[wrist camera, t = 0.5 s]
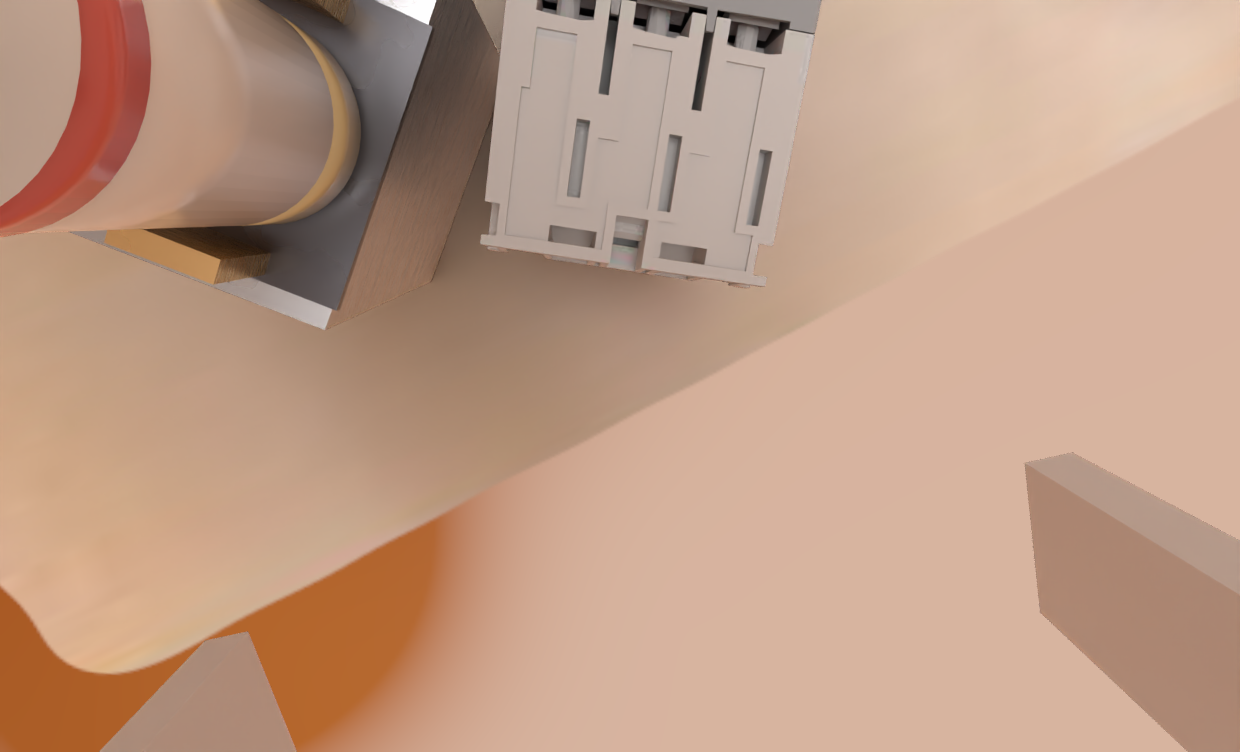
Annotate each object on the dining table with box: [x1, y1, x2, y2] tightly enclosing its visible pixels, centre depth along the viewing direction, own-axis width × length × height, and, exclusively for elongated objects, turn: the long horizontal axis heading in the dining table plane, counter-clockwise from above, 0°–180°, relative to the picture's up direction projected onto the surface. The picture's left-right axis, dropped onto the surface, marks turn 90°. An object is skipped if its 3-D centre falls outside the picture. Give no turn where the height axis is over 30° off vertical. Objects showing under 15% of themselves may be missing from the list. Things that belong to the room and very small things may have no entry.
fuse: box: [0, 0, 361, 237], centre depth 10 cm, size 5×5×14 cm
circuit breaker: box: [480, 0, 821, 288], centre depth 24 cm, size 8×14×15 cm, turn 171°
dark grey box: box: [68, 0, 500, 330], centre depth 22 cm, size 10×15×17 cm, turn 67°
